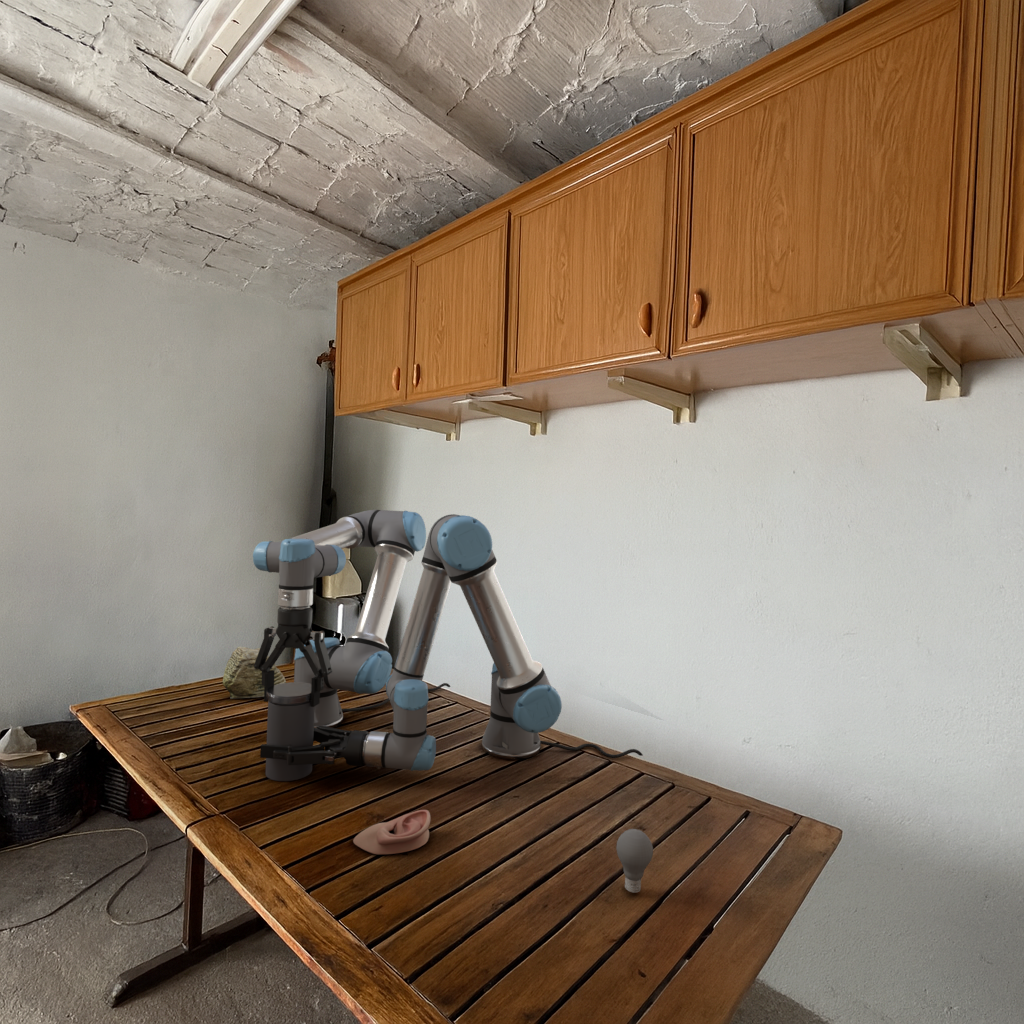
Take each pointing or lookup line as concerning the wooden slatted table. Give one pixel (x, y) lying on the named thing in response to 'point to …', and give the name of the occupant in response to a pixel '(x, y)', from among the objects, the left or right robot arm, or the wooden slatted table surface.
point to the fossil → (246, 674)
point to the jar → (289, 737)
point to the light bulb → (634, 857)
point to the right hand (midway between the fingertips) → (272, 741)
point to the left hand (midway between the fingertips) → (291, 702)
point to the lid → (289, 693)
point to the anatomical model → (396, 834)
